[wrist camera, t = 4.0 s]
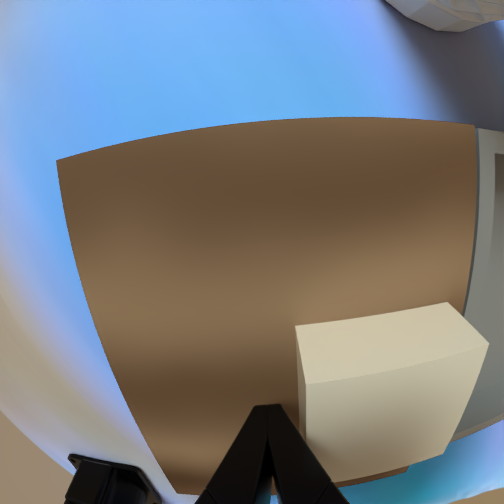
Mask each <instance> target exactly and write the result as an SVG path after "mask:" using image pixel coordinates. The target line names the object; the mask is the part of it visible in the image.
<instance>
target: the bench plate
mask: <svg viewBox="0 0 504 504" xmlns="http://www.w3.org/2000/svg"><path fill="white" fill-rule="evenodd" d="M56 163H57V171H58V178H59V184H60V191H61V197H62V202H63V208H64V213H65V218H66V223H67V228H68V232H69V237H70V241H71V246H72V250H73V254H74V258H75V262H76V265H77V269H78V273H79V277H80V280H81V284H82V287H83V290H84V294H85V297H86V300H87V303H88V306H89V310H90V313H91V316H92V319H93V322H94V324H95V327H96V330H97V333H98V336H99V338H100V341H101V344H102V346H103V349H104V352H105V354H106V357H107V359H108V362H109V364H110V367H111V369H112V372H113V374H114V376H115V379H116V381H117V383H118V385H119V388H120V390H121V392H122V394H123V397H124V399H125V401H126V403H127V405H128V407H129V409H130V411H131V413H132V415H133V418H134V420H135V422H136V423H137V425H138V427H139V429H140V431H141V433H142V435H143V437H144V439H145V441H146V443H147V444H148V446H149V448H150V450H151V452H152V453H153V455H154V457H155V459H156V460H157V462H158V464H159V465H160V467H161V469H162V470H163V472H164V474H165V475H166V477H167V479H168V480H169V482H170V483H171V485H172V487H173V488H174V490H175V491H176V493H178V494H190V495H201V493H202V492H203V490H204V489H206V488H205V487H206V486H207V484H208V482H209V481H210V479H211V478H212V476H213V474H214V473H215V471H216V470H217V468H218V466H219V465H220V463H221V461H222V460H223V458H224V457H225V455H226V453H227V452H228V450H229V448H230V446H231V445H232V443H233V441H234V440H235V438H236V436H237V435H238V433H239V431H240V429H241V428H242V426H243V424H244V422H245V421H246V419H247V417H248V415H249V414H250V412H251V410H252V408H253V407H254V406H255V405H265V404H266V405H268V404H277V403H279V404H281V405H282V406H283V408H284V410H285V411H286V413H287V414H288V416H289V417H290V419H291V420H292V422H293V423H294V425H295V426H296V428H297V430H298V431H299V433H300V430H299V398H298V373H297V352H296V334H295V326H298V325H307V324H315V323H323V322H331V321H338V320H346V319H353V318H359V317H366V316H372V315H379V314H385V313H391V312H397V311H402V310H408V309H414V308H419V307H424V306H429V305H434V304H439V303H444V302H448V303H449V304H450V305H451V306H452V307H453V308H454V309H455V310H456V311H457V312H459V313H460V314H461V315H462V311H463V307H464V301H465V296H466V291H467V285H468V279H469V272H470V265H471V258H472V249H473V240H474V229H475V214H476V190H477V163H476V138H475V125H471V124H463V123H454V122H445V121H434V120H422V119H406V118H382V117H324V118H299V119H283V120H270V121H258V122H248V123H238V124H230V125H222V126H214V127H207V128H200V129H193V130H187V131H181V132H175V133H169V134H164V135H158V136H153V137H148V138H143V139H138V140H134V141H129V142H124V143H120V144H116V145H112V146H107V147H103V148H99V149H95V150H92V151H88V152H84V153H80V154H77V155H73V156H70V157H66V158H63V159H60V160H56ZM408 467H409V465H408V466H405V467H401V468H398V469H394V470H390V471H387V472H383V473H379V474H374V475H370V476H366V477H361V478H356V479H351V480H346V481H340V482H335V485H336V486H337V488H339V487H344V486H350V485H355V484H360V483H364V482H369V481H373V480H377V479H381V478H385V477H389V476H393V475H397V474H400V473H404V472H406V471H407V469H408ZM271 495H277V493H276V489H275V484H274V479H273V478H272V488H271Z"/></svg>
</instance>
